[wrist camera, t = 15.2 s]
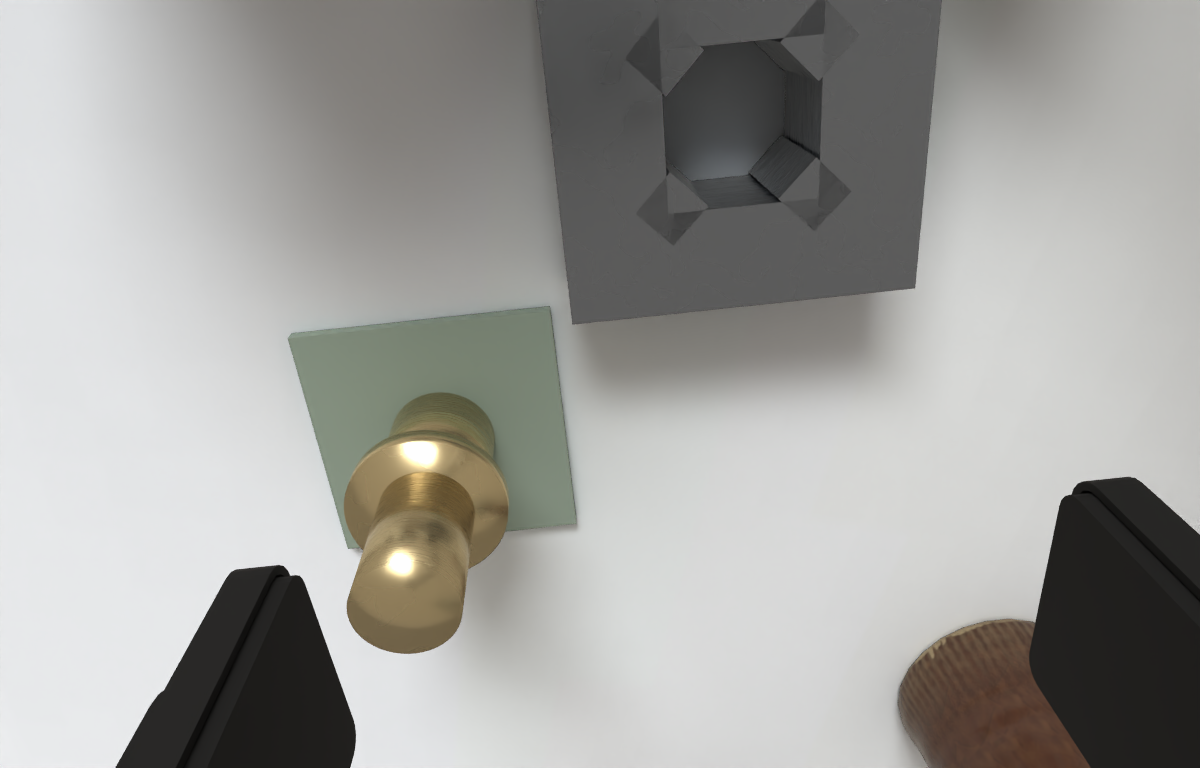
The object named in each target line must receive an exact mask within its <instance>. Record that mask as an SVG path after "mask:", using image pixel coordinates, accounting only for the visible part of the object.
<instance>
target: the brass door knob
mask: <svg viewBox="0 0 1200 768" xmlns="http://www.w3.org/2000/svg"><path fill="white" fill-rule="evenodd" d="M494 442H495V436H494V430H493V426H492V424H491V421H490V419H489V418H488V416H487V415H486V413H485V412H484V411H483V410H482V409H481V408H480V407H479V406H478V405H477V404H475V403H474V402H472V401H471V400H469V399H467V398H465V397H462V396H459V395H456V394H452V393H443V392H439V393H430V394H425V395H422V396H419V397H417V398H415V399H413V400H412V401H410V402H409V403H407V404H406V405H405V406H404V407H403V408H402V409H401V410H400V411H399V413H398V414H397V416H396V418H395V420H394V422H393V425H392V428H391V431H390V434H389V437H388V438H386V439H384V440H382V441H381V442H379V443H377V444H376V445H375V446H373V447H372V448H371V449H370V450H368V451H367V452H366V453H365V455H364V456H363V457H362V458H361V459H360V461H359V462H358V464H357V465H356V467H355V469H354V471H353V473H352V476H351V478H350V481H349V483H348V486H347V489H346V493H345V498H344V515H345V520H346V523H347V526H348V529H349V531H350V533H351V535H352V537H353V539H354V540H355V541H356V543H357V544H358V545H359V547H360V548H361V549H362V550H363V553H362V556H361V560H360V563H359V566H358V569H357V572H356V575H355V578H354V581H353V584H352V587H351V591H350V594H349V597H348V600H347V614H348V618H349V621H350V623H351V625H352V627H353V628H354V630H355V631H356V632H357V633H358V634H359V635H360V636H361V637H362V638H363V639H364V640H365V641H367V642H368V643H370V644H372V645H373V646H375V647H378V648H380V649H383V650H386V651H389V652H394V653H403V654H411V653H420V652H425V651H428V650H431V649H434V648H436V647H438V646H440V645H442V644H443V643H445V642H446V641H447V640H449V639H450V638H451V637H452V636H453V634H454V633H455V632H456V630H457V629H458V627H459V625H460V622H461V618H462V612H463V605H464V597H465V589H466V581H467V573H468V569H469V568H471V567H473V566H475V565H477V564H478V563H480V562H481V561H483V560H484V559H485V558H486V557H487V556H489V555H490V554H491V553H492V552H493V551H494V549H495V548H496V547H497V546H498V544H499V542H500V541H501V539H502V537H503V535H504V532H505V530H506V526H507V522H508V510H509V490H508V486H507V482H506V480H505V477H504V475H503V473H502V471H501V469H500V467H499V466H498V464H497V463H496V462H495V461H494V459H493V452H494Z"/></svg>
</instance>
